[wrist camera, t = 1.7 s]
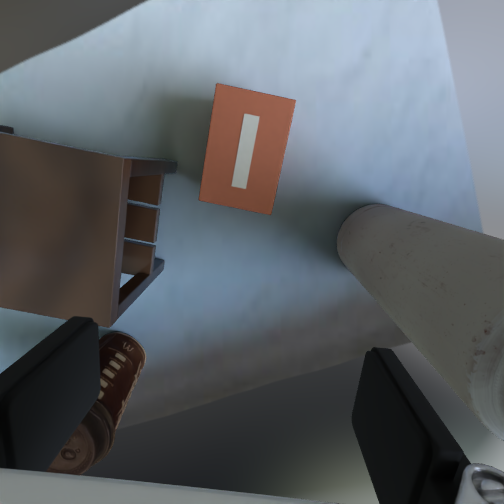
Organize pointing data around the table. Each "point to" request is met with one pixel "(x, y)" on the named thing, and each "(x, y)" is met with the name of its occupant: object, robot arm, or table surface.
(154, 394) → the table surface
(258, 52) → the table surface
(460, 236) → the thermos bottle
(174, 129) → the table surface
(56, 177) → the slatted side table
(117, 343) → the coffee cup
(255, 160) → the tissue box
